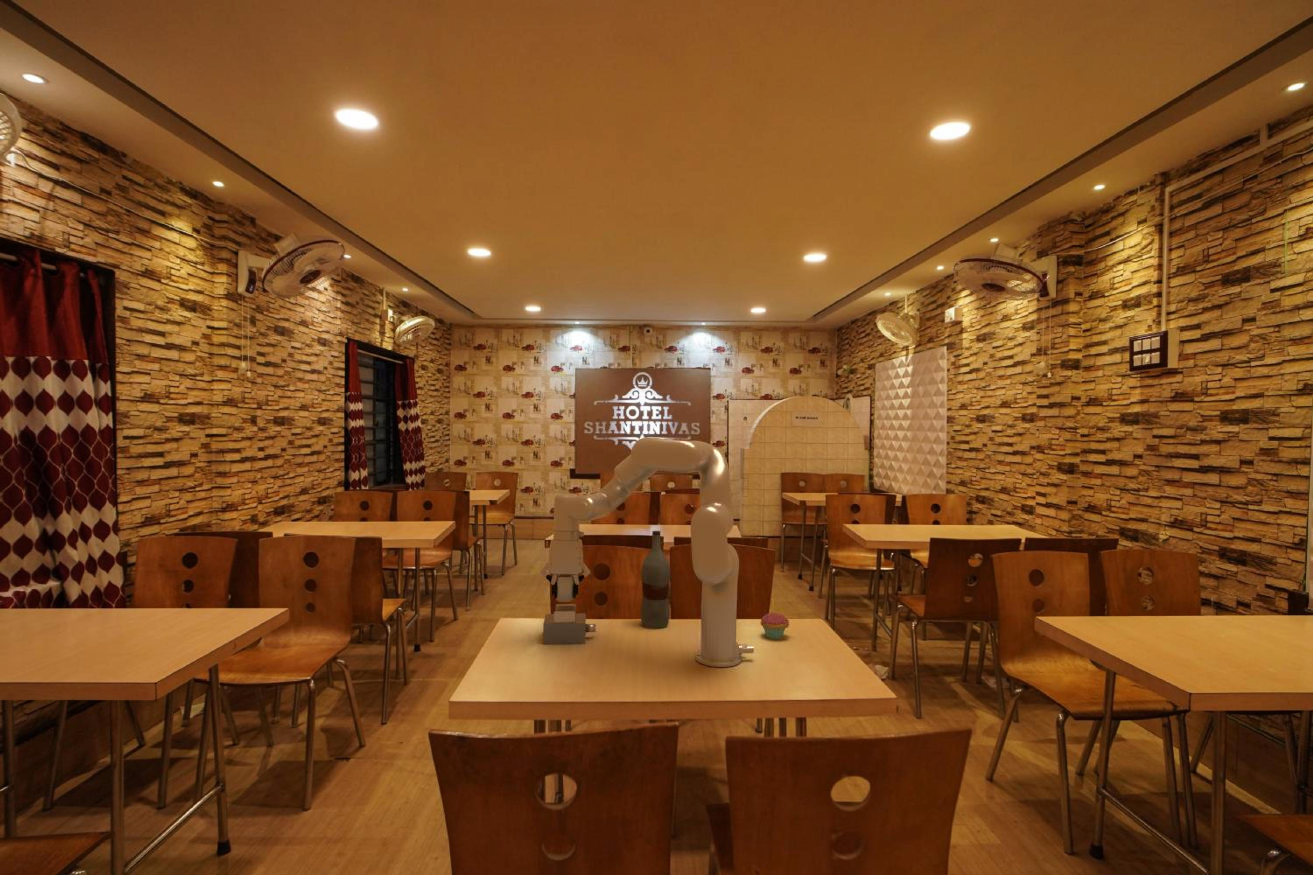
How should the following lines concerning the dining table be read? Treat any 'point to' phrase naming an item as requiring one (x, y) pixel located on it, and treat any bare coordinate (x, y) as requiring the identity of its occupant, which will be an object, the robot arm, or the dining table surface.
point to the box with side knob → (566, 626)
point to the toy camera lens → (565, 588)
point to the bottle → (655, 587)
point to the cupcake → (774, 624)
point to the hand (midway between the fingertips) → (565, 596)
